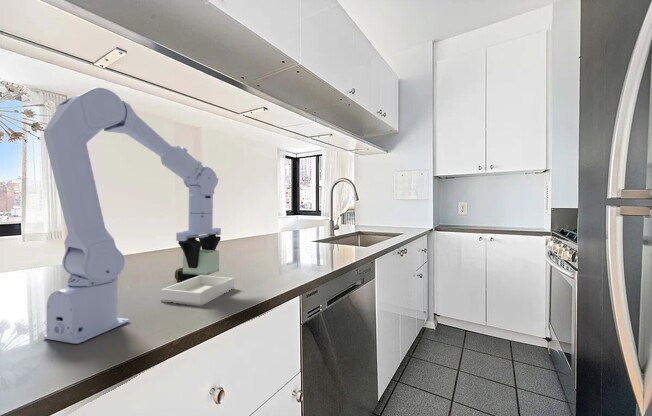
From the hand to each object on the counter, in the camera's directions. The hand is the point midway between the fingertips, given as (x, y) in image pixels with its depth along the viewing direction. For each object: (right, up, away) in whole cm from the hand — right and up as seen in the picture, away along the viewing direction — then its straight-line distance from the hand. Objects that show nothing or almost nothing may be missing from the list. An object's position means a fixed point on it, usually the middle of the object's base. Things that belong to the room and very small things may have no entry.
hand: (200, 265), depth 72 cm
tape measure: (-10, -8, +14) cm, 19 cm away
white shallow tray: (0, -8, 0) cm, 8 cm away
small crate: (0, -2, 0) cm, 2 cm away
